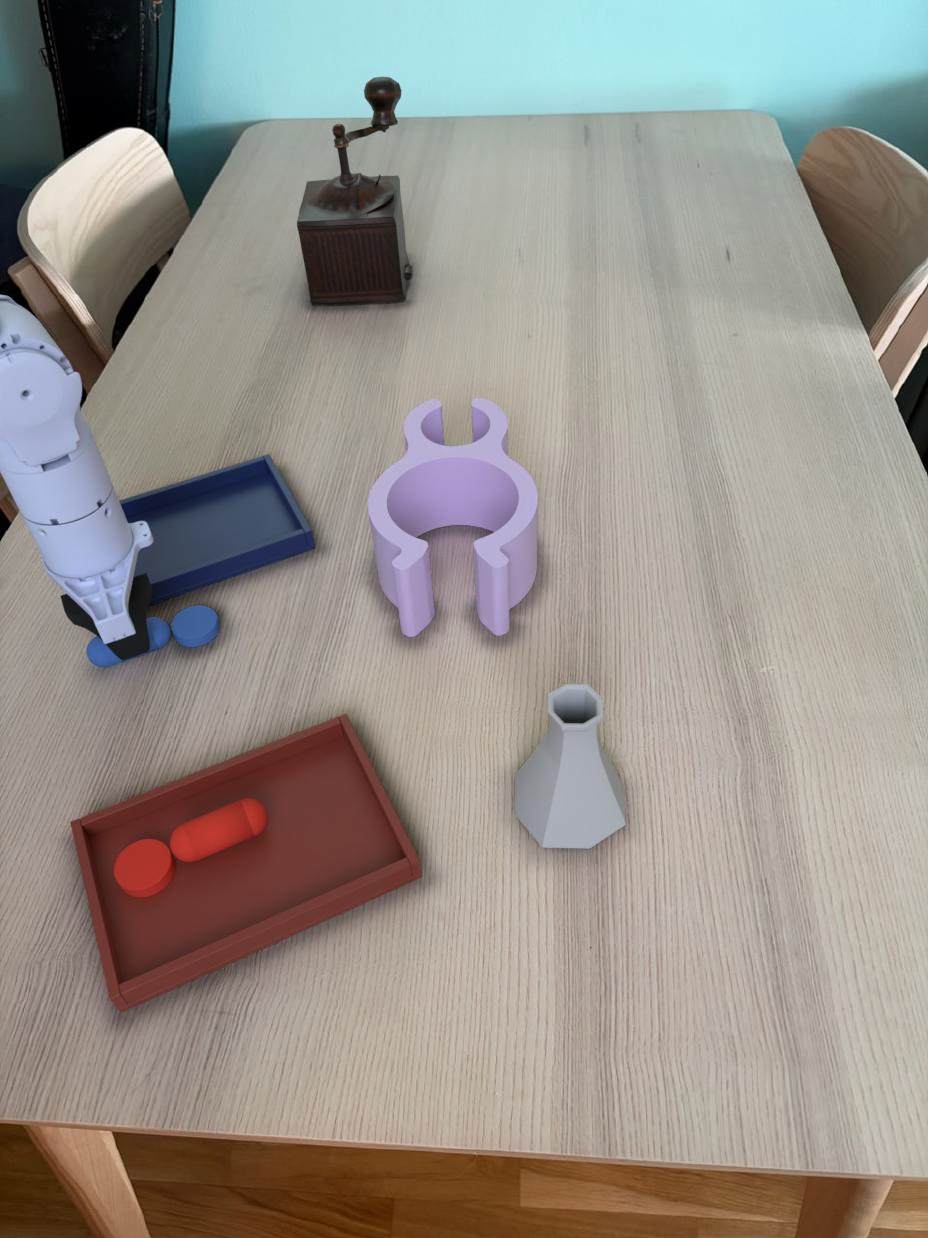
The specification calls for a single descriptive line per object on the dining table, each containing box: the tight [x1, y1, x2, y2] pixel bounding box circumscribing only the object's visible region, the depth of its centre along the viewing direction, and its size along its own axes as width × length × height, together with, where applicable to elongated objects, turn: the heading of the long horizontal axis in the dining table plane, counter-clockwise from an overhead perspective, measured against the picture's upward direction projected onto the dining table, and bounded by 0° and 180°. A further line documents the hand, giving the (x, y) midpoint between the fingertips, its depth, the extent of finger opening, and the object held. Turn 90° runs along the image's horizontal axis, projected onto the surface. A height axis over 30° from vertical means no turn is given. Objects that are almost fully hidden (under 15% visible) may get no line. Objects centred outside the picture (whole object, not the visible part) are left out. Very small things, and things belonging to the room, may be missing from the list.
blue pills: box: [86, 604, 221, 669], centre depth 71 cm, size 10×3×2 cm, turn 115°
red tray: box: [70, 713, 423, 1013], centre depth 59 cm, size 18×12×2 cm
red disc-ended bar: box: [114, 798, 268, 897], centre depth 59 cm, size 10×3×2 cm, turn 115°
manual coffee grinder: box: [296, 76, 414, 307], centre depth 103 cm, size 16×11×18 cm
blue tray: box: [119, 453, 317, 607], centre depth 79 cm, size 17×11×2 cm, turn 115°
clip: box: [367, 397, 539, 638], centre depth 76 cm, size 20×12×7 cm, turn 179°
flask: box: [513, 683, 627, 850], centre depth 58 cm, size 7×7×10 cm
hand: (130, 640), depth 71 cm, fingers closed on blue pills, 2 cm apart
